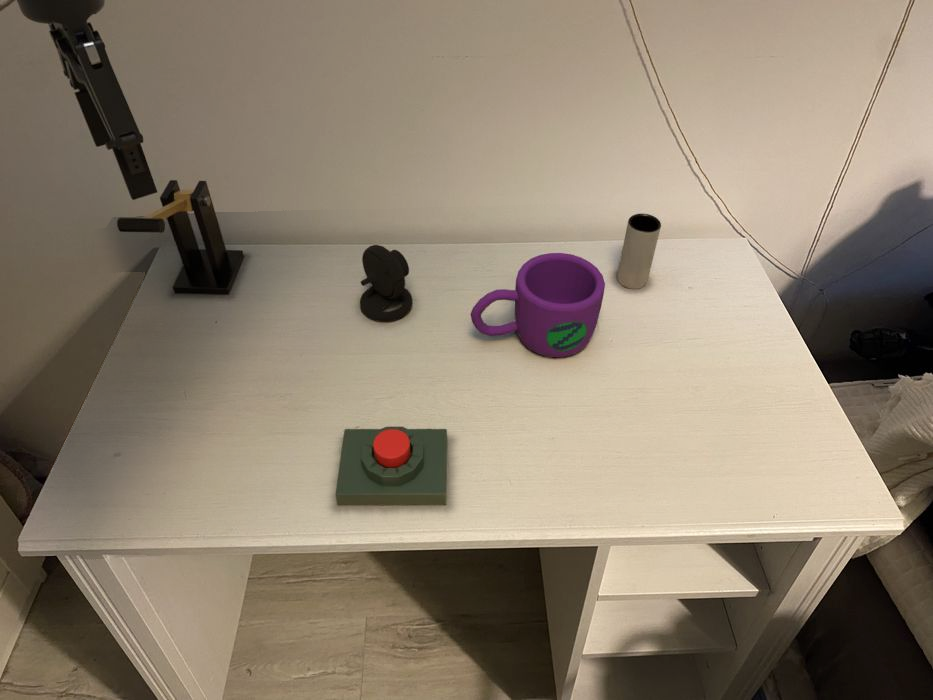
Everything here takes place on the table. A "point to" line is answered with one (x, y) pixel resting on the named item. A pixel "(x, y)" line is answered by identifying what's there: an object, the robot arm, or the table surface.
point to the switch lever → (157, 215)
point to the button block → (393, 470)
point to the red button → (391, 448)
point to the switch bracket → (200, 266)
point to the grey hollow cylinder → (638, 250)
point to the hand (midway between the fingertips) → (125, 167)
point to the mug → (550, 304)
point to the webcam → (384, 283)
